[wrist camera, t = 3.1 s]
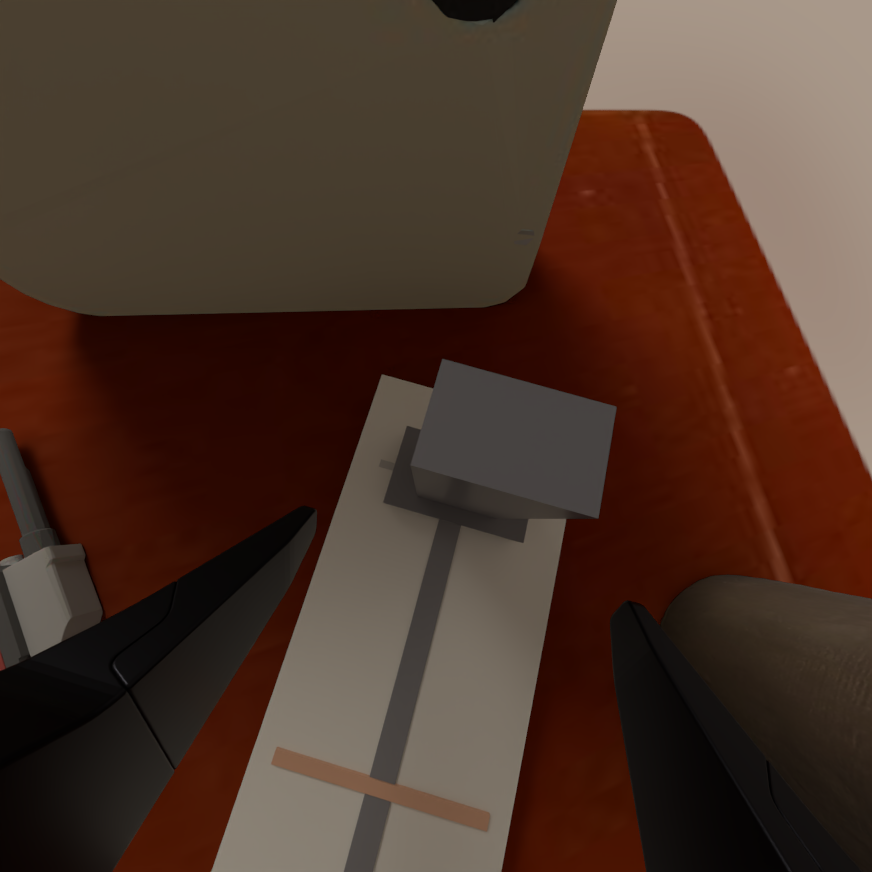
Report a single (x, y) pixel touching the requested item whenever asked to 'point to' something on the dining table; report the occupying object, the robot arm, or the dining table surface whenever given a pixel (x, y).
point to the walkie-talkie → (39, 573)
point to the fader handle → (502, 454)
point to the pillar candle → (792, 687)
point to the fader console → (398, 685)
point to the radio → (284, 150)
